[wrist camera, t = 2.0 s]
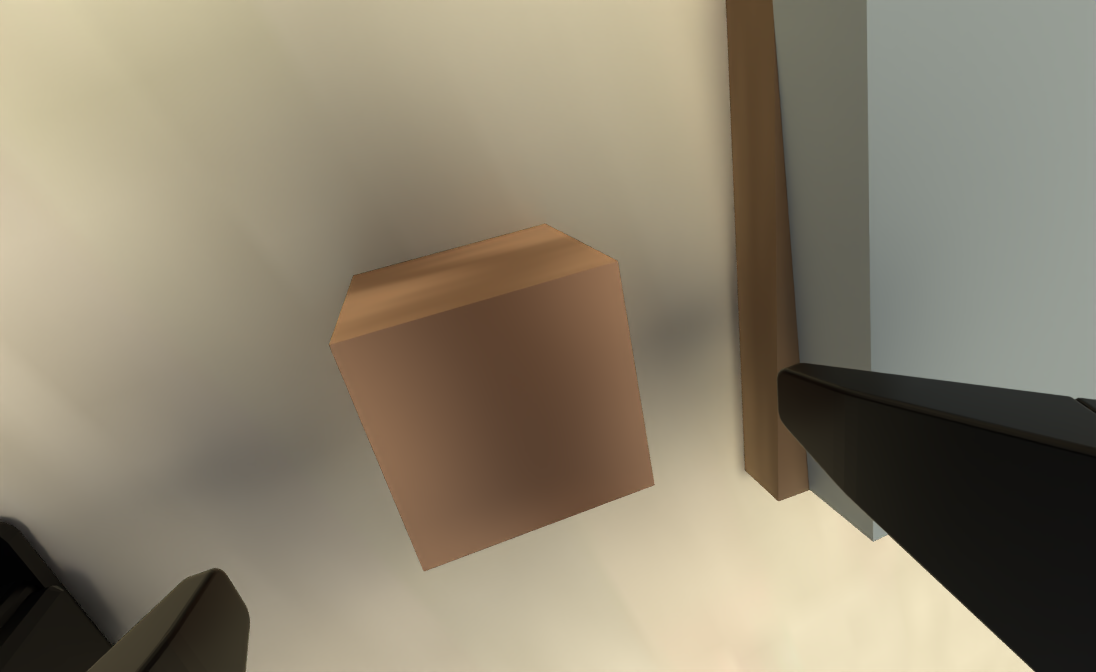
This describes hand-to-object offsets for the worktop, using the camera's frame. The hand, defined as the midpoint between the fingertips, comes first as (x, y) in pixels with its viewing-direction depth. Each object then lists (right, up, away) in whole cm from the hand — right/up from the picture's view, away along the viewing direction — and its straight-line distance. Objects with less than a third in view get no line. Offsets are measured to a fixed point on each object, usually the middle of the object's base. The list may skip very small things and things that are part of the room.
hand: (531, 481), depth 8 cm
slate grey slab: (+12, +6, +7) cm, 15 cm away
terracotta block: (-2, +2, +6) cm, 7 cm away
